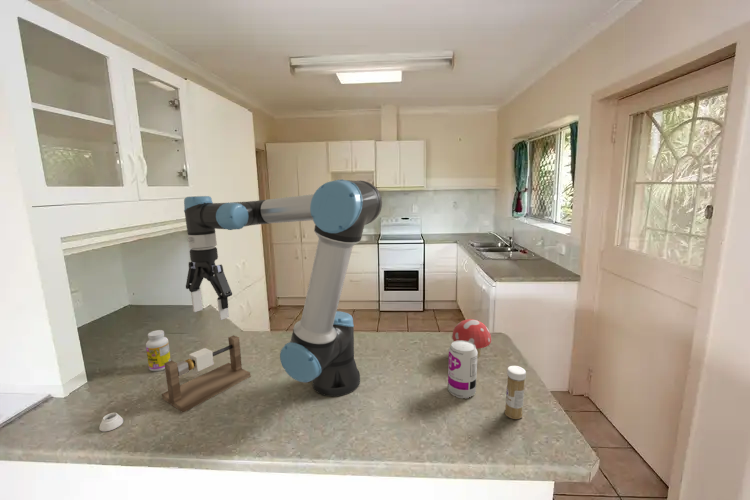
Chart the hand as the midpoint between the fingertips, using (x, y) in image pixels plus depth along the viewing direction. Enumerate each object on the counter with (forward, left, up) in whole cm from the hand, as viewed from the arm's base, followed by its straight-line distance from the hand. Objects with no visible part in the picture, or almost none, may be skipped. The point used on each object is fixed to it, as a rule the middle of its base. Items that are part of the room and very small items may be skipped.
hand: (210, 314), depth 108 cm
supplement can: (-69, -37, -23) cm, 81 cm away
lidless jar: (+3, +28, -23) cm, 36 cm away
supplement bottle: (+25, +6, -23) cm, 34 cm away
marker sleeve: (-1, +5, -15) cm, 16 cm away
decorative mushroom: (-64, -57, -23) cm, 89 cm away
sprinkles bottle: (-84, -35, -23) cm, 94 cm away
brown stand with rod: (-1, +4, -23) cm, 23 cm away
